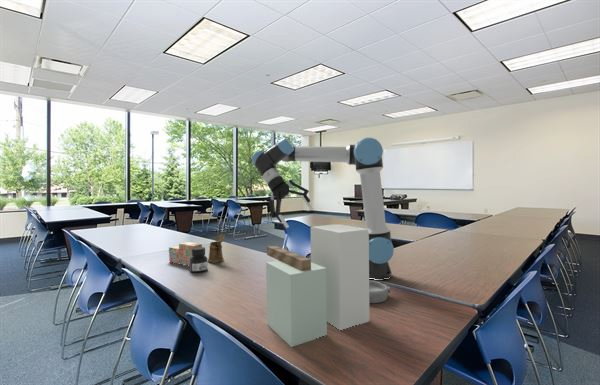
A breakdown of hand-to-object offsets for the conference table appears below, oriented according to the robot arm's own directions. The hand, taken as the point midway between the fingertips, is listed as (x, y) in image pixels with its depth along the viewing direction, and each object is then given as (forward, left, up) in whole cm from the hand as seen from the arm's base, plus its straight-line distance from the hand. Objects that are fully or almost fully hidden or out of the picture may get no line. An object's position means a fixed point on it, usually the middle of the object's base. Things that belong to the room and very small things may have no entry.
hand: (299, 218), depth 130 cm
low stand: (+2, +39, -30) cm, 49 cm away
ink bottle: (+53, -27, -30) cm, 67 cm away
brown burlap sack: (+48, -45, -30) cm, 73 cm away
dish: (-28, +14, -30) cm, 43 cm away
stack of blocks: (+66, -43, -30) cm, 84 cm away
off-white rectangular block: (-13, +31, -30) cm, 45 cm away
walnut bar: (+5, +34, -10) cm, 36 cm away
